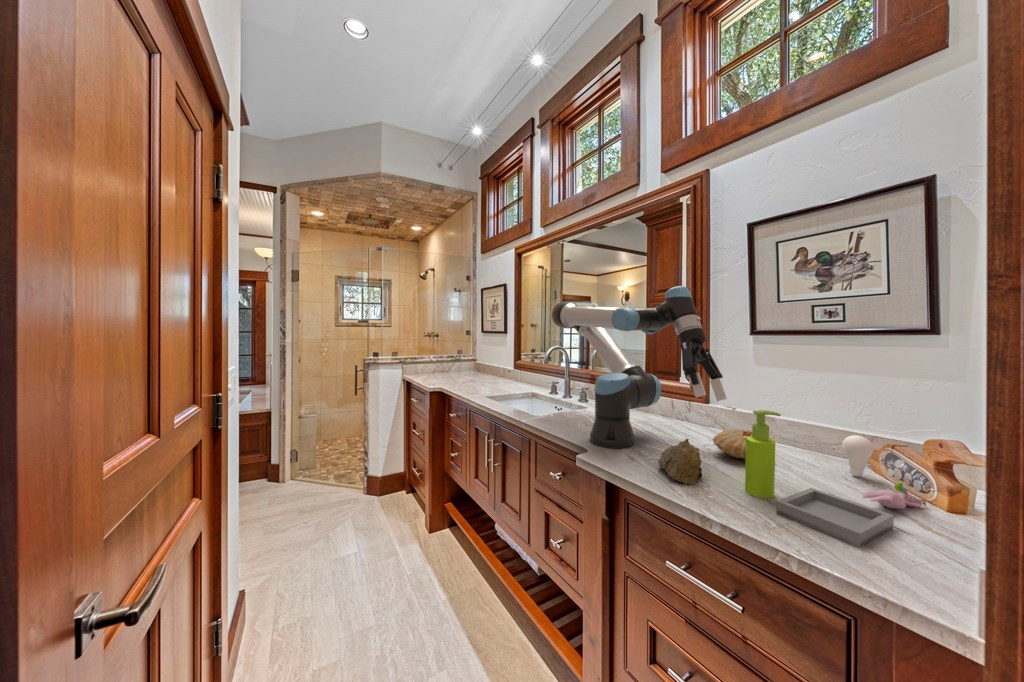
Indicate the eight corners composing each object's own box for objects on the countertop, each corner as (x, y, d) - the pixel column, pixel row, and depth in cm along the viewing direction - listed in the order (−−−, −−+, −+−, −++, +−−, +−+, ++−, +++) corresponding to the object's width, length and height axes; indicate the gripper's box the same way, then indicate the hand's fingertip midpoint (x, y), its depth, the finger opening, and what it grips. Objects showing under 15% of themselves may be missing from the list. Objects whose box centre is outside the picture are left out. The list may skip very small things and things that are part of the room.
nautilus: (751, 446, 124) (796, 464, 110) (698, 448, 119) (738, 468, 104) (754, 423, 124) (799, 439, 109) (701, 424, 118) (741, 441, 104)
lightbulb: (879, 481, 95) (881, 439, 94) (855, 481, 95) (857, 439, 94) (857, 471, 101) (858, 432, 101) (835, 472, 101) (836, 432, 101)
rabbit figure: (899, 503, 86) (850, 500, 83) (903, 478, 86) (854, 474, 83) (934, 517, 80) (883, 513, 77) (939, 490, 80) (887, 485, 77)
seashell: (683, 468, 108) (680, 433, 109) (716, 484, 94) (713, 444, 95) (647, 471, 107) (645, 436, 108) (676, 488, 93) (673, 447, 93)
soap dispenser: (784, 499, 86) (786, 414, 85) (751, 497, 87) (752, 413, 86) (771, 488, 91) (773, 408, 90) (740, 486, 93) (742, 407, 92)
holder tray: (776, 512, 80) (776, 501, 80) (810, 498, 86) (811, 487, 86) (859, 547, 67) (860, 533, 67) (893, 528, 73) (893, 515, 73)
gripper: (681, 318, 105) (704, 390, 97) (719, 334, 120) (742, 398, 112) (657, 329, 110) (678, 398, 102) (697, 343, 125) (717, 404, 117)
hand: (711, 398), depth 107 cm, fingers open, 13 cm apart
